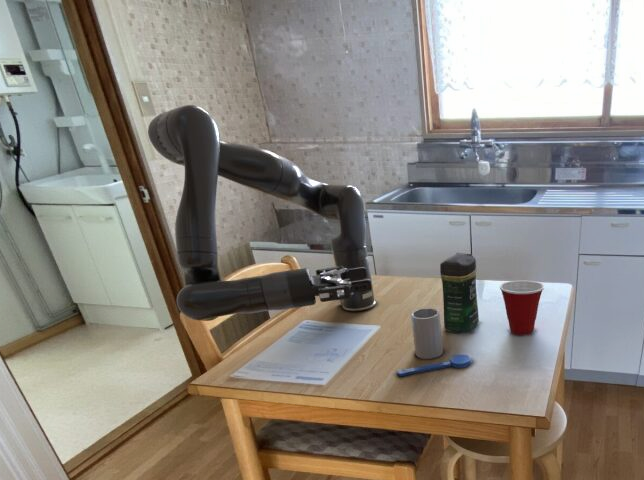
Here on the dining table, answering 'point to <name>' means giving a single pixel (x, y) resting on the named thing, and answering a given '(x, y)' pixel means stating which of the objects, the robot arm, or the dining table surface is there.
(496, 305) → the dining table surface
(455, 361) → the spoon
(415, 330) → the gray cup
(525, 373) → the dining table surface
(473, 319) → the coffee jar
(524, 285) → the plastic cup
